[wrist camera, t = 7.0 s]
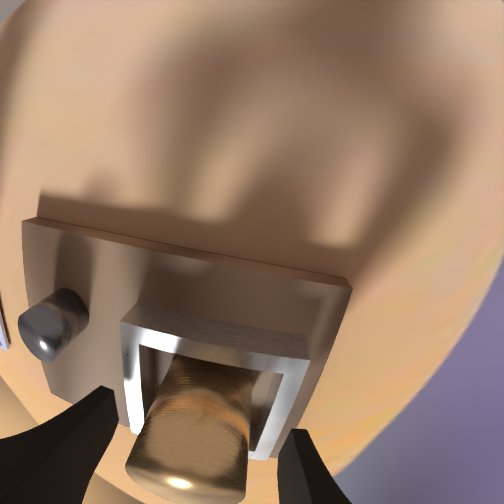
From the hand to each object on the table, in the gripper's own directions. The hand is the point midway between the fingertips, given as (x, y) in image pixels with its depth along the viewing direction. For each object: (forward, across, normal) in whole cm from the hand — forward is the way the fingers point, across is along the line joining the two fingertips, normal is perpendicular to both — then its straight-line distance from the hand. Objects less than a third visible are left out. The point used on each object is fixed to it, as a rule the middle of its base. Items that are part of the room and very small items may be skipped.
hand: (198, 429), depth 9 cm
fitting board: (+4, +3, 0) cm, 5 cm away
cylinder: (+3, 0, 0) cm, 3 cm away
